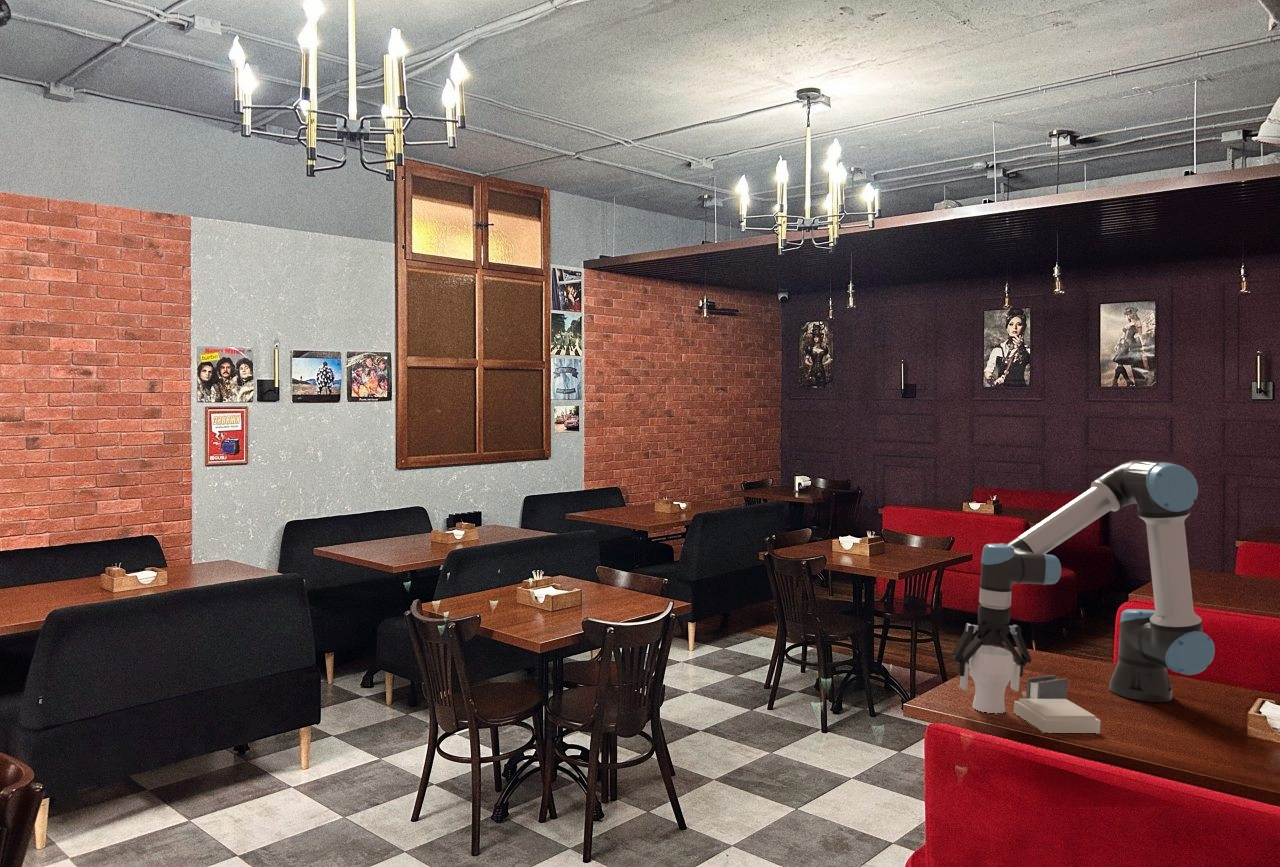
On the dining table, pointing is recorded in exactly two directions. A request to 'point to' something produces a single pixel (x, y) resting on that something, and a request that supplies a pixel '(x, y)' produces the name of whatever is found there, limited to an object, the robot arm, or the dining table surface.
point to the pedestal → (1057, 716)
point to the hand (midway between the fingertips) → (989, 689)
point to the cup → (991, 677)
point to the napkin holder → (1046, 688)
